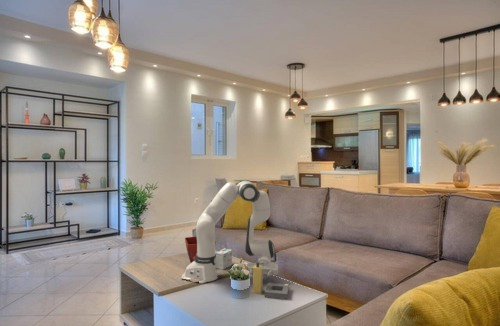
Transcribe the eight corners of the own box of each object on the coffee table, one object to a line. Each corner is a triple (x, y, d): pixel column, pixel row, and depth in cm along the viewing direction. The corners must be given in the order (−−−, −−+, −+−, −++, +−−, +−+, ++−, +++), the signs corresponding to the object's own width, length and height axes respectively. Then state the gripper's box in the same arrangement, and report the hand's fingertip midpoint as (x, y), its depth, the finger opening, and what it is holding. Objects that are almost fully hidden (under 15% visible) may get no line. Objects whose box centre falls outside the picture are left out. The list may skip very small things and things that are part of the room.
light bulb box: (224, 263, 221) (224, 247, 221) (232, 265, 218) (232, 249, 217) (215, 268, 212) (215, 252, 212) (223, 270, 209) (223, 253, 208)
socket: (264, 297, 170) (264, 290, 170) (268, 287, 182) (268, 281, 182) (286, 299, 167) (287, 292, 167) (289, 289, 179) (289, 283, 179)
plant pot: (184, 260, 227) (184, 237, 227) (211, 257, 233) (211, 234, 232) (187, 269, 209) (187, 244, 208) (216, 266, 215) (216, 242, 214)
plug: (253, 292, 176) (253, 263, 175) (254, 289, 180) (254, 261, 179) (261, 293, 175) (261, 264, 174) (262, 290, 179) (262, 261, 178)
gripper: (247, 259, 197) (241, 267, 184) (279, 261, 193) (276, 270, 179) (247, 269, 197) (241, 277, 184) (279, 271, 193) (276, 281, 179)
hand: (259, 274), depth 181 cm, fingers open, 8 cm apart
